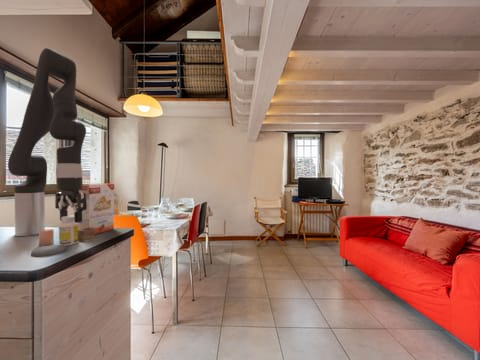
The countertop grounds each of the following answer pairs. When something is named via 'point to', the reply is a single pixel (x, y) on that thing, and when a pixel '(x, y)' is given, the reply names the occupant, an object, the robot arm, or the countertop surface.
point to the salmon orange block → (46, 237)
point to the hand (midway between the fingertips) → (71, 221)
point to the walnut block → (85, 234)
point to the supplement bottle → (68, 231)
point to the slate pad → (48, 250)
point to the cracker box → (98, 207)
